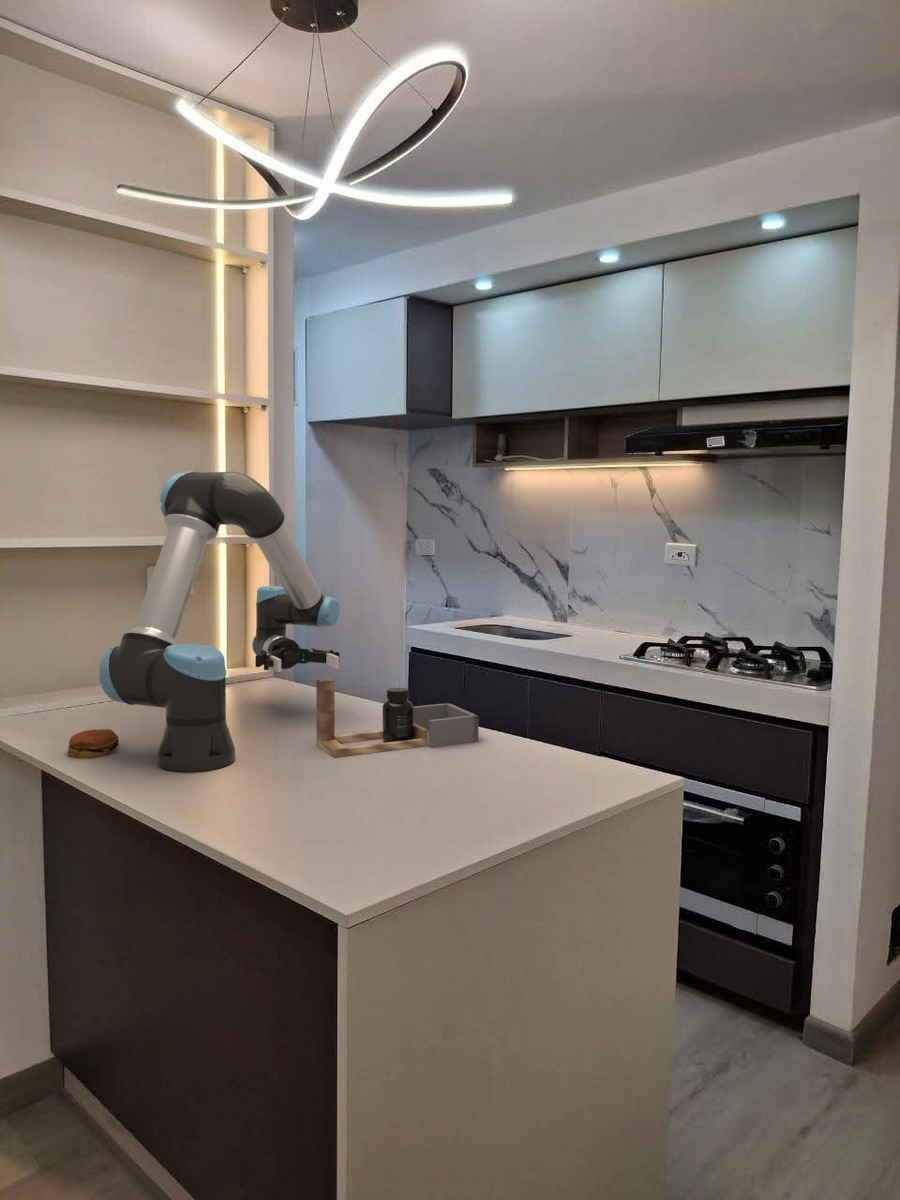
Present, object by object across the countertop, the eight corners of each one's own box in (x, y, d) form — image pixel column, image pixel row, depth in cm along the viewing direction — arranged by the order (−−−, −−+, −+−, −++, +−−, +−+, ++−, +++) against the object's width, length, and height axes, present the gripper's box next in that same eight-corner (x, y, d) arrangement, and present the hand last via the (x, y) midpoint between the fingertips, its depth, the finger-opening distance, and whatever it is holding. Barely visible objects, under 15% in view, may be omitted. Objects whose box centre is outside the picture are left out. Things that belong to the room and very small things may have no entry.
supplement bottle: (415, 739, 199) (416, 687, 197) (410, 747, 192) (410, 693, 191) (385, 738, 199) (385, 685, 198) (379, 746, 193) (379, 692, 191)
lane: (448, 727, 209) (448, 702, 209) (478, 742, 197) (478, 715, 196) (403, 733, 204) (403, 707, 203) (431, 748, 191) (431, 721, 191)
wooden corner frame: (406, 734, 202) (407, 671, 201) (427, 745, 193) (428, 680, 191) (316, 744, 193) (316, 678, 191) (334, 757, 183) (334, 688, 181)
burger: (61, 759, 181) (61, 737, 180) (79, 747, 190) (78, 726, 190) (110, 759, 181) (110, 737, 181) (125, 747, 190) (125, 726, 190)
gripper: (329, 664, 225) (360, 677, 206) (231, 669, 214) (254, 683, 195) (329, 635, 225) (360, 645, 206) (231, 638, 213) (254, 649, 194)
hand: (308, 664), depth 200 cm, fingers open, 13 cm apart
